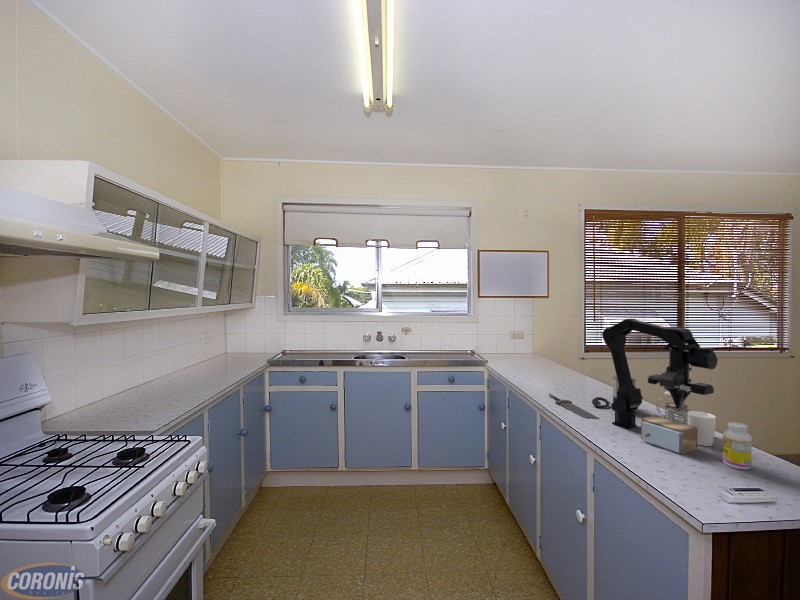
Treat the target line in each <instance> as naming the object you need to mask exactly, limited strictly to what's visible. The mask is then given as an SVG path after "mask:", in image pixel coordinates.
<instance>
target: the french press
mask: <svg viewBox="0 0 800 600" xmlns="http://www.w3.org/2000/svg"><path fill="white" fill-rule="evenodd" d="M663 394H664V396H661V397H659V398H658V399H657V401H656V404H655V408H656V411H657V413H659V414H660V415H661V416H663V418H666V419H670V420H673V421H677V422H680V423H684V424H687V425H688V414H687V413H688V412H690V410H689V409H688V408H689V406H688V405H687V404H685V403H683V405H682V407H681V408H680V409H678V408H676V406H675V403H674V401H668V398H667V397H671V398H672V396H671V394H670V392H669V391H668V390H667V391H664V392H663ZM665 396H667V397H665ZM690 397H691V396H690V394H689V395H688V397H687V398H686V399H688V398H690ZM662 401H665V406H664V408H663V414H662V413H661V411H660V403H662Z"/></svg>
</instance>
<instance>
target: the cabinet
mask: <svg viewBox="0 0 800 600" xmlns="http://www.w3.org/2000/svg"><path fill="white" fill-rule="evenodd" d="M642 422H647V423H651V424H654V425H657V426H661V427H664V428H667V429H671V430H674V431H677V432H683V454H682V455H684V454H688V453H690V452H694V451H697V450H698V445H697V427H694V426H691V425H687V424H684V423H681V422H678V421H673V420H670V419H666V417H665V418H664V416H663V417H662V416H659V415H651V416H646V417H642V418H641V421H640V423H641V425H640V428H641V429H640V434H641V435H640V440H642Z"/></svg>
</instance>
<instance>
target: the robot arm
mask: <svg viewBox="0 0 800 600" xmlns="http://www.w3.org/2000/svg"><path fill="white" fill-rule="evenodd" d="M632 331H635V332H638V333H642V334H646V335H649V336H654V337H657V338H659V339H661V340H662V341H663V342H665V343H667V344H666V345H665V346H663V347H662V350H663V351H669V358H668V359H669V361H668V362H669V363H668V365H667V366H666V368H665V369H666V370H665V372H662V373H661V374H651V375H649V376H648V377H647V384H651V385H657V384H658V385H659V386H660V387H663V389H664V390H667V391H669V392H670V394H671V396H672V397H671V398H672V402H674V403H675V406H676V408H678V409H680V408H681V407H682V405H683V404H685V401H686V399H688V398H687V397H688V395H689V396H690V395H691V393H693V394H697V395H702V396H705V395H712V394H714V393H715V392H714V391H715V390H714V386H713V385H712V384H708V383H705V382H695V383H692V379H691V378H690V371H692V370H693V369H692V367H693V368H699V369H706V370H715V368H717V365H718V356H717V354H716V353H715V352H714V350H715V349H714V348H712V347H711V348H710V347H707V348H705V347H701V346H700V344H699V343H698V341H697V340H696V338H695V337H694V335H693V333H692V331H691V330H690V329H689V328H686V327H670V326H662V325H659V324H655V323H651V322H647V321H642V320H638V319H636V318H625V319H623V320H621V321H620V322H618V323H615V324H614V325H611V326H610V327H606V328H604V329H603V331H602V332H601V336H602V339H603V342H604V343H605V345H606V346H607V348H608V349H609V350H610V353H611V357H612V361H613V366H614V370H615V374H616V375H615V376H617V379H618V384H619V387H618V391H617V400H616V401H615V402H613V401H612V403H611V404H610V406H611V409H612V410H613V411H614V410H615V411H614V421H613V422H612V423H611V424H612V425H615V426H617V427H621V428H623V429H632V428H636V427H637V426H638V424H636V421H637V420H636V415H635V413H636V412H635V411H637V410H638V409H639V407H640V406H641V405H642V403H643V399H644V396H642V390H641V388H639V387H636V385H635V386H634V385H633V383H632V379H631V377H632V375H631V371H630V368H629V362H628V359H627V355H626V350H625V347H626V343H627V336H628V335H630V334H631V333H632ZM633 410H635V411H633Z"/></svg>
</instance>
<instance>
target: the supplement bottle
mask: <svg viewBox="0 0 800 600" xmlns="http://www.w3.org/2000/svg"><path fill="white" fill-rule="evenodd" d="M748 427H749V426H748V425H747V424H745V423H743V422H742V423H741V422H738V421H737V422H736V421H728V422H727V428H728V429H725V430H724V431H723V434H722V435H723V438H722V440H723V441H722V462H723V463H724V464H725V465H726V466H728V467H730V468H732V469H733V468H734V469H738V470H750V469H751V468H752V449H753V448H752V447H753V445H752V444H753V443H752V442H753V436H751V434H749V433H748V430H749V428H748Z"/></svg>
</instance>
